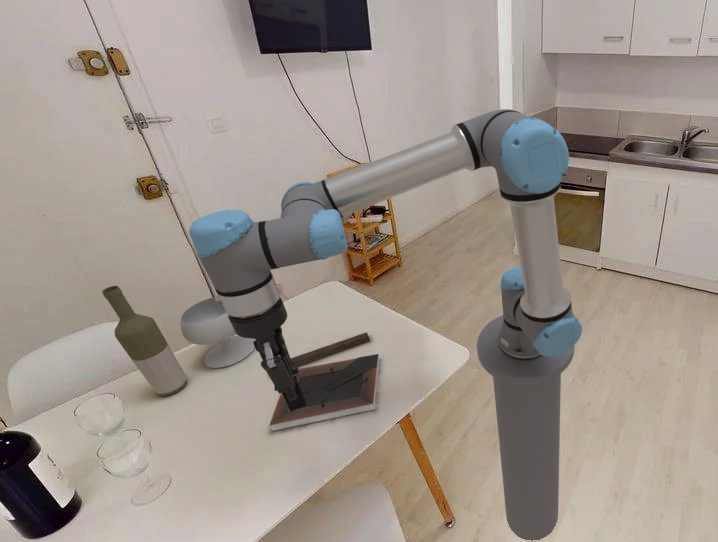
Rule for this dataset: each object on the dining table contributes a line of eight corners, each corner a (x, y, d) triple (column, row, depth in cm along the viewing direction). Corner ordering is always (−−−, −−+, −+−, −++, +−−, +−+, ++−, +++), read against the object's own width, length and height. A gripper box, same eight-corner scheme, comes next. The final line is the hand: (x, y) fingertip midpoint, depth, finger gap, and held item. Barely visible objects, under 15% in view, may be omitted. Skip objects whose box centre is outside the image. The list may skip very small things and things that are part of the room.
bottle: (195, 384, 103) (136, 285, 88) (162, 403, 98) (93, 302, 83) (183, 372, 106) (125, 276, 91) (151, 391, 101) (83, 292, 86)
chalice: (201, 348, 114) (177, 305, 107) (258, 329, 121) (239, 287, 113) (199, 379, 104) (172, 334, 96) (261, 357, 110) (241, 313, 103)
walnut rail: (368, 337, 116) (367, 331, 115) (370, 341, 115) (368, 335, 114) (273, 370, 106) (271, 365, 105) (273, 375, 104) (271, 369, 103)
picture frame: (379, 360, 108) (291, 377, 104) (378, 353, 107) (288, 369, 103) (375, 410, 94) (272, 432, 90) (372, 403, 93) (269, 424, 89)
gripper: (229, 292, 68) (274, 390, 80) (224, 337, 58) (277, 441, 70) (279, 279, 72) (316, 375, 83) (282, 319, 62) (324, 422, 73)
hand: (298, 405), depth 77 cm, fingers closed
